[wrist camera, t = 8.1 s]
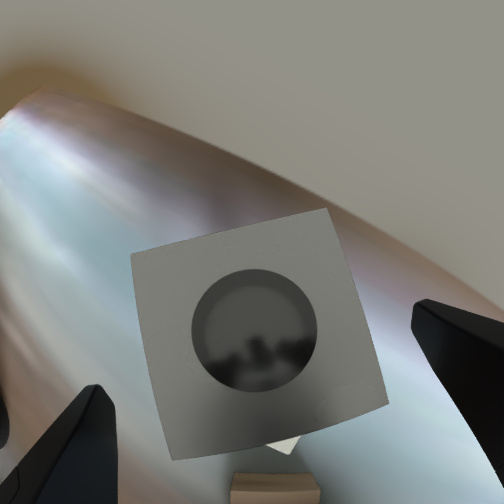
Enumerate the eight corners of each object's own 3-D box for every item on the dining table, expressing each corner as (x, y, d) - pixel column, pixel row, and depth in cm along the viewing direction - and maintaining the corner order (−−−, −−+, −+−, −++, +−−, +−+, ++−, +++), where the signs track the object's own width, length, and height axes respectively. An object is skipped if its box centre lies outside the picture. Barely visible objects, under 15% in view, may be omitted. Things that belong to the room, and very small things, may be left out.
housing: (312, 384, 16) (410, 410, 5) (221, 407, 15) (158, 477, 5) (288, 297, 18) (336, 185, 7) (200, 319, 17) (111, 238, 6)
